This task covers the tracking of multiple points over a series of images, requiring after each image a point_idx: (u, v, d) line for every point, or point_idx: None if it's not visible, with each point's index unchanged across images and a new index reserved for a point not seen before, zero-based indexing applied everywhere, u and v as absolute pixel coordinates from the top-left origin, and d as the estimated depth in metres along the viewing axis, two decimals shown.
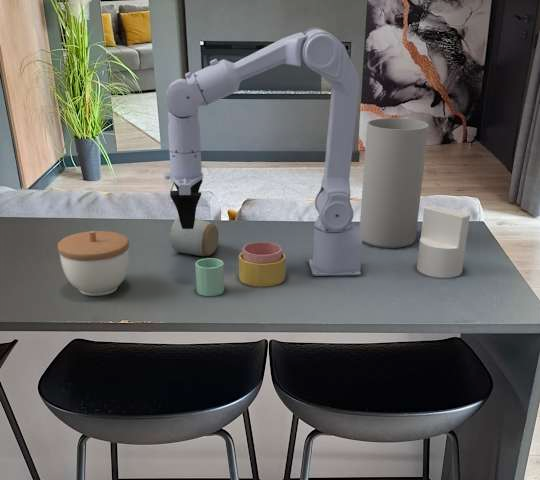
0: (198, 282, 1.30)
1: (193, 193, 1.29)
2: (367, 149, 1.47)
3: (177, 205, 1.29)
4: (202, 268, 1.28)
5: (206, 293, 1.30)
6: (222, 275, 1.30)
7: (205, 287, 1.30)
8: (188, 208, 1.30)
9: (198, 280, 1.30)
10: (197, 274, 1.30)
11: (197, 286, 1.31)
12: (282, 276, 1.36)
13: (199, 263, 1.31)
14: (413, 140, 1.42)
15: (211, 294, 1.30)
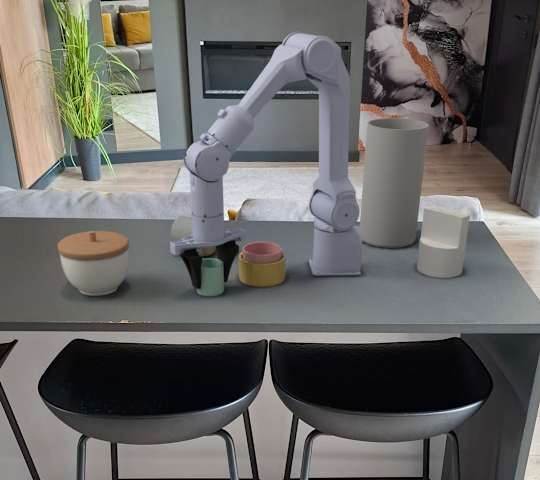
0: None
1: (194, 255, 1.26)
2: (367, 149, 1.47)
3: (183, 261, 1.29)
4: (202, 268, 1.28)
5: (206, 293, 1.30)
6: (222, 275, 1.30)
7: (205, 287, 1.30)
8: None
9: None
10: None
11: None
12: (282, 276, 1.36)
13: None
14: (413, 140, 1.42)
15: (211, 294, 1.30)
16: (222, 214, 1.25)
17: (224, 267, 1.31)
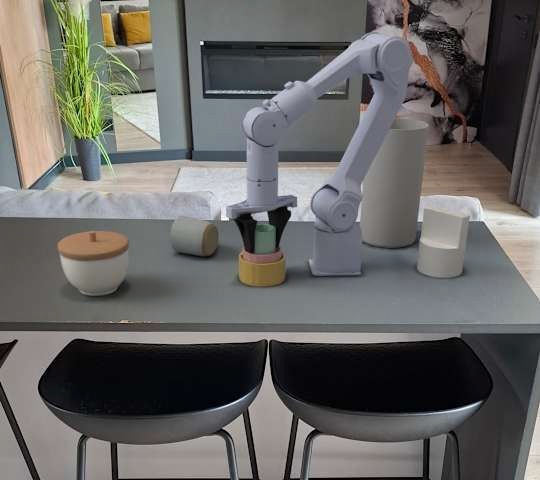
0: None
1: (249, 219, 1.29)
2: None
3: (237, 226, 1.32)
4: (256, 232, 1.32)
5: None
6: (274, 240, 1.34)
7: (258, 251, 1.33)
8: None
9: None
10: None
11: None
12: (282, 276, 1.36)
13: None
14: (413, 140, 1.42)
15: None
16: (277, 179, 1.28)
17: (276, 232, 1.35)
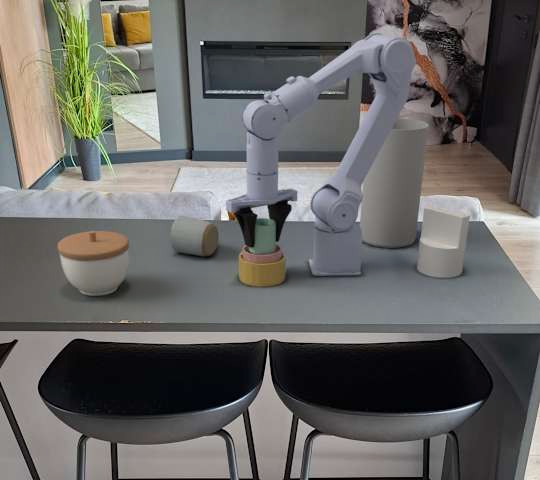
0: None
1: (249, 213, 1.29)
2: None
3: (237, 220, 1.32)
4: (256, 226, 1.31)
5: (259, 252, 1.33)
6: (274, 234, 1.33)
7: (258, 245, 1.33)
8: None
9: None
10: None
11: None
12: (282, 276, 1.36)
13: None
14: (413, 140, 1.42)
15: (264, 252, 1.33)
16: (277, 173, 1.28)
17: (276, 226, 1.34)
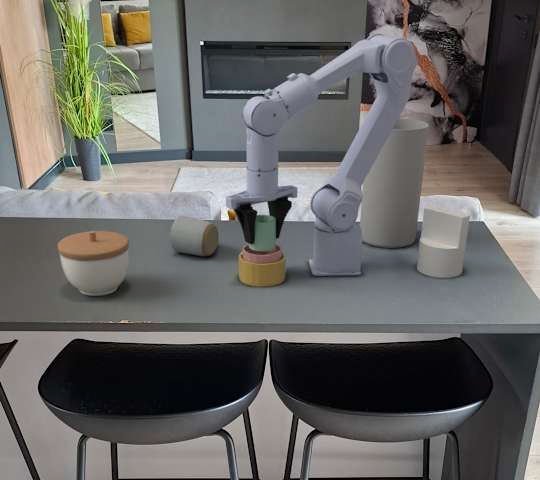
0: None
1: (249, 209, 1.28)
2: None
3: (237, 216, 1.31)
4: (256, 223, 1.31)
5: (259, 248, 1.33)
6: (274, 230, 1.33)
7: (258, 242, 1.32)
8: None
9: None
10: None
11: None
12: (282, 276, 1.36)
13: None
14: (413, 140, 1.42)
15: (264, 249, 1.33)
16: (277, 169, 1.27)
17: (276, 223, 1.34)
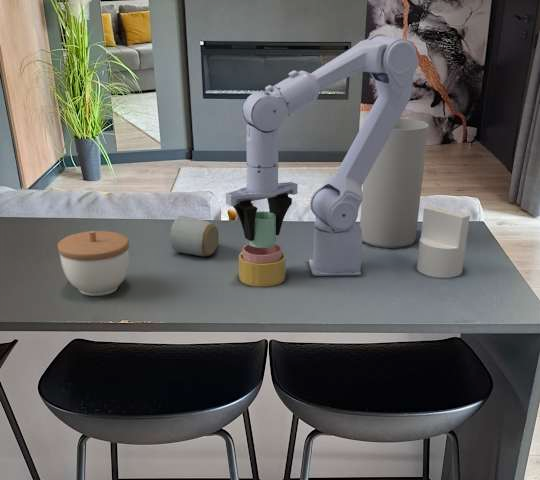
0: None
1: (249, 206, 1.28)
2: None
3: (237, 213, 1.31)
4: (256, 220, 1.30)
5: (259, 245, 1.33)
6: (274, 227, 1.33)
7: (258, 239, 1.32)
8: None
9: None
10: None
11: None
12: (282, 276, 1.36)
13: None
14: (413, 140, 1.42)
15: (264, 246, 1.33)
16: (277, 165, 1.27)
17: (276, 220, 1.34)
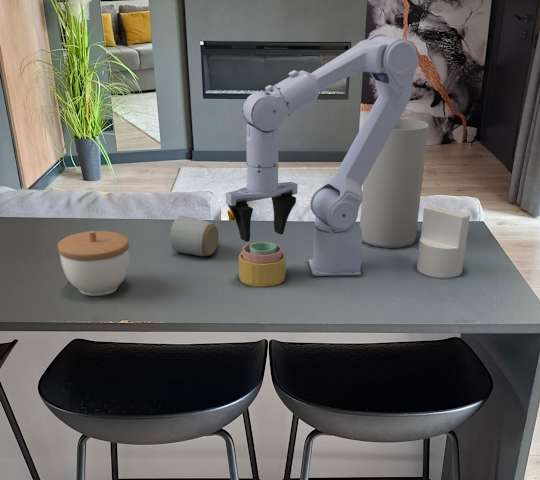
0: None
1: (244, 206, 1.28)
2: None
3: (233, 213, 1.31)
4: (257, 251, 1.33)
5: None
6: None
7: None
8: None
9: None
10: None
11: None
12: (282, 276, 1.36)
13: (253, 246, 1.37)
14: (413, 140, 1.42)
15: None
16: (277, 165, 1.27)
17: (280, 219, 1.34)
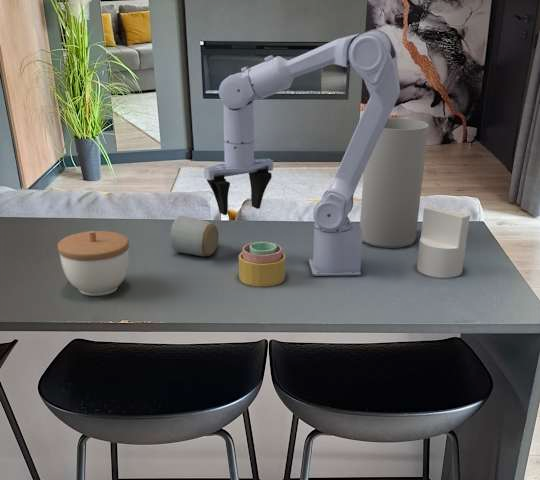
0: None
1: (222, 181, 1.35)
2: None
3: (212, 188, 1.38)
4: (257, 251, 1.33)
5: None
6: None
7: None
8: (221, 194, 1.38)
9: None
10: None
11: None
12: (282, 276, 1.36)
13: (253, 246, 1.37)
14: (413, 140, 1.42)
15: None
16: (252, 142, 1.34)
17: (257, 194, 1.42)
